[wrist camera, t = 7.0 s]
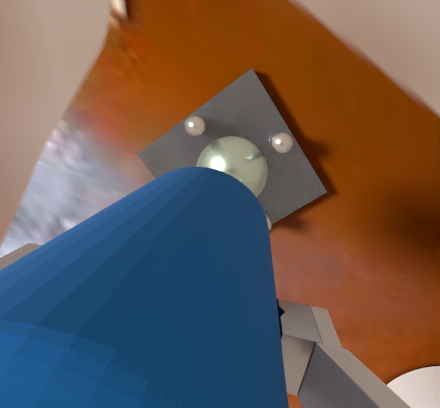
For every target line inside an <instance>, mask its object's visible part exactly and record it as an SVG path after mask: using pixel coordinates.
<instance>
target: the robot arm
mask: <svg viewBox="0 0 440 408" xmlns="http://www.w3.org/2000/svg"><path fill="white" fill-rule="evenodd" d="M41 246H42V245H39V244H35V243H28V244H26V245H24V246H22V247H20V248H19V249H17V250H15V251H13V252H11V253H9V254H7V255H5V256H3V257H2V258H0V270H2V269H3V268H5V267H7V266H8V265H10V264H12V263H13V262H15V261H17V260H19V259H20V258H22V257H24V256H25V255H27V254H29V253H30V252H32V251H34V250H36V249H37V248H39V247H41ZM277 308H278V317H279V326H280V335H281V344H282V353H283V362H284V371H285V380H286V389H287V393H289V394H292V395H296V396H298V397H297V398H298V399H299V401H300V403H301V404H302V406H303V408H440V366H432V367H426V368H421V369H417V370H413V371H411V372H408V373H405V374H403V375H401V376H399V377H397V378H396V379H394V380H393V381H391V382H390V383H389V384H387V385H386V384H385V383H383V382H382V381H381V380H380V379H379V378H378V377H377V376H376V375H375V374H374V373H373V372H371V371H370V370H369V369H368V368H367V367H366V366H365V365H364V364H363V363H362V362H360V361H359V360H358V359H357V358H356V357H355V356H354V355H353V354H352V353H351V352H350V351H348V350H347V349H343V348H342V346H341V344H340V341H339V339H338V336H337V334H336V331H335V328H334V326H333V323H332V321H331V318H330V316H329V313H328V311H327V310H326V309H325V308H320V307H314V306H308V305H303V304H298V303H293V302H288V301H283V300H278V299H277Z"/></svg>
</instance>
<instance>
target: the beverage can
mask: <svg viewBox="0 0 440 408" xmlns="http://www.w3.org/2000/svg"><path fill="white" fill-rule="evenodd" d="M0 408H289V407H288V398H287V389H286V380H285V371H284V362H283V353H282V344H281V335H280V326H279V317H278V308H277V299H276V290H275V281H274V272H273V263H272V254H271V245H270V236H269V228H268V222H267V219H266V215H265V212H264V210H263V208H262V206H261V204H260V202H259V201H258V199H257V198H256V196H255V195H254V194H253V193H252V192H251V191H250V189H249V188H248V187H246V186H245V185H244V184H243V183H242V182H240V181H239V180H237V179H236V178H234V177H233V176H231V175H229V174H227V173H225V172H222V171H219V170H216V169H212V168H207V167H184V168H179V169H176V170H173V171H170V172H168V173H166V174H164V175H162V176H160V177H158V178H156V179H155V180H153V181H151V182H150V183H148V184H146V185H145V186H143V187H141V188H139V189H138V190H136V191H134V192H133V193H131V194H129V195H127V196H126V197H124V198H122V199H121V200H119V201H117V202H116V203H114V204H112V205H110V206H109V207H107V208H105V209H104V210H102V211H100V212H99V213H97V214H95V215H93V216H92V217H90V218H88V219H87V220H85V221H83V222H82V223H80V224H78V225H76V226H75V227H73V228H71V229H70V230H68V231H66V232H65V233H63V234H61V235H59V236H58V237H56V238H54V239H53V240H51V241H49V242H47V243H46V244H44V245H42V246H41V247H39V248H37V249H36V250H34V251H32V252H30V253H29V254H27V255H25V256H24V257H22V258H20V259H19V260H17V261H15V262H13V263H12V264H10V265H8V266H7V267H5V268H3V269H2V270H0Z"/></svg>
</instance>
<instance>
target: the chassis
mask: <svg viewBox="0 0 440 408" xmlns="http://www.w3.org/2000/svg"><path fill="white" fill-rule="evenodd" d="M138 155H139V157H140V158H141V159H142V161H143V162H144V163H145V165H146V166H147V167H148V169H149V170H150V171H151V173H152V174H153V176H154V177H155V178H158V177H160V176H162V175H164V174H166V173H168V172H170V171H173V170H176V169H179V168H184V167H207V168H212V169H216V170H219V171H222V172H225V173H227V174H229V175H231V176H233V177H234V178H236V179H237V180H239V181H240V182H242V183H243V184H244V185H245V186H246V187H248V188H249V189H250V191H251V192H252V193H253V194H254V195H255V196H256V198H257V199H258V201H259V202H260V204H261V206H262V208H263V210H264V212H265V215H266V219H267V222H268V228H269V231H270V230H271V225H272V224H273V223H275V222H277V221H278V220H280V219H282V218H284V217H285V216H287V215H289V214H291V213H292V212H294V211H296V210H297V209H299V208H301V207H303V206H304V205H306V204H308V203H310V202H311V201H313V200H315V199H316V198H318V197H320V196H322V195H323V194H325V193H327V191H326V189H325V187H324V186H323V184H322V182H321V181H320V179H319V177H318V176H317V174H316V172H315V171H314V169H313V167H312V166H311V164H310V163H309V161H308V159H307V158H306V156H305V154H304V153H303V151H302V149H301V148H300V146H299V144H298V143H297V141H296V139H295V138H294V136H293V135H292V133H291V131H290V130H289V128H288V126H287V125H286V123H285V121H284V120H283V118H282V116H281V115H280V113H279V111H278V110H277V108H276V106H275V105H274V103H273V102H272V100H271V98H270V97H269V95H268V93H267V92H266V90H265V88H264V87H263V85H262V83H261V82H260V80H259V78H258V77H257V75H256V74H255V72H254V70H253V69H250V70H249V71H248V72H246V73H245V74H244V75H242V76H241V77H240V78H238V79H237V80H236V81H234V82H233V83H232V84H230V85H229V86H228V87H226V88H225V89H224V90H222V91H221V92H220V93H218V94H217V95H216V96H214V97H213V98H212V99H210V100H209V101H208V102H206V103H205V104H204V105H202V106H201V107H200V108H198V109H197V110H196V111H194V112H193V113H192V114H190V115H189V116H188V117H186V118H185V119H184V120H182V121H181V122H180V123H178V124H177V125H176V126H174V127H173V128H172V129H170V130H169V131H168V132H166V133H165V134H164V135H162V136H161V137H160V138H158V139H157V140H156V141H154V142H153V143H152V144H150V145H149V146H148V147H146V148H145V149H144V150H142V151H141V152H140V153H138Z"/></svg>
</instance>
